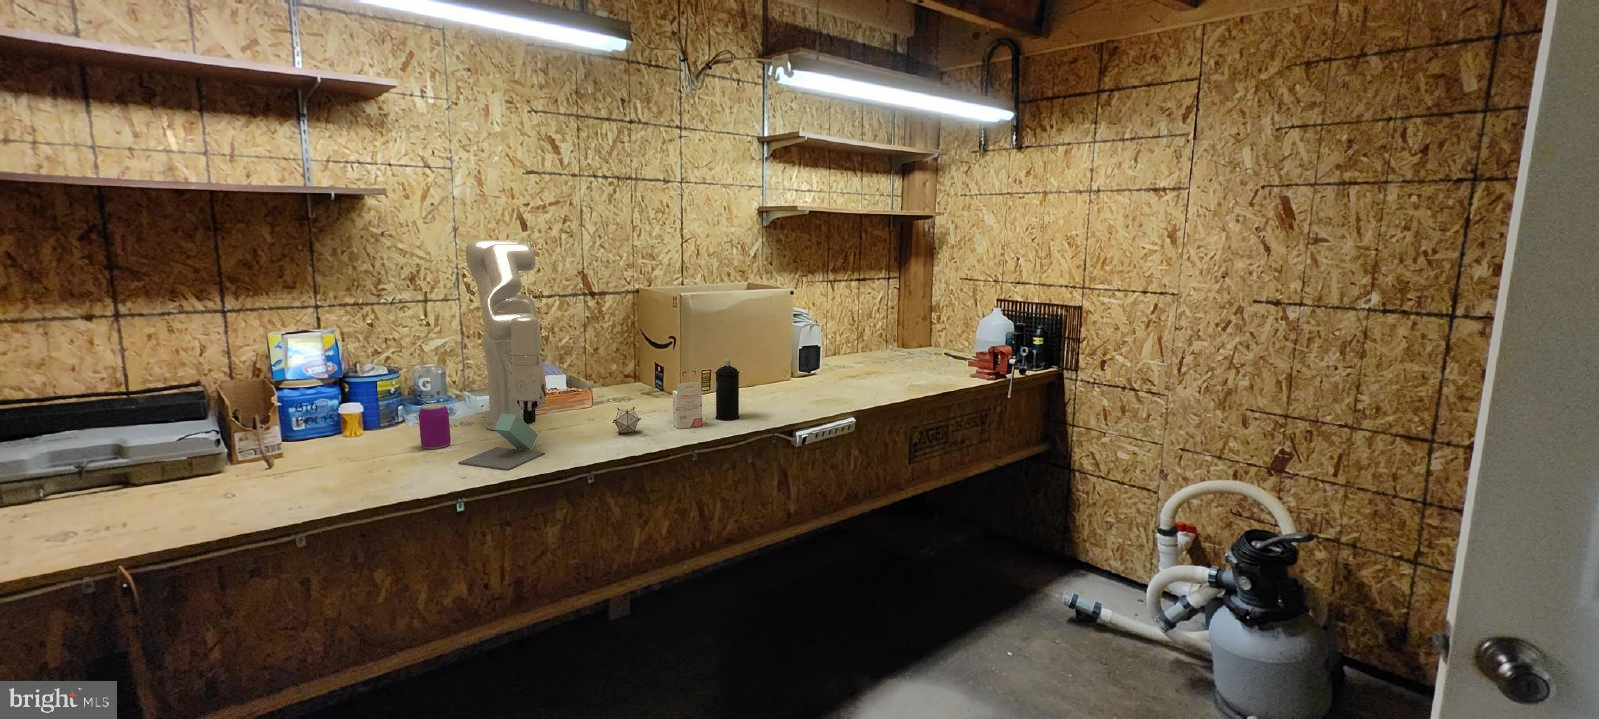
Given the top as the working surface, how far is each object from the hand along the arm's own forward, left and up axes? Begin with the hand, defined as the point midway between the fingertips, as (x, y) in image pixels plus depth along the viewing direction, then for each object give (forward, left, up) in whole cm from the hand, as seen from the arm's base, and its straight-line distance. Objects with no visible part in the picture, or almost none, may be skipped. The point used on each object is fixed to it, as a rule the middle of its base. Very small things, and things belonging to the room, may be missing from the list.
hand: (529, 422), depth 205 cm
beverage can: (-26, -8, -8) cm, 28 cm away
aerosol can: (+40, +51, -8) cm, 65 cm away
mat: (0, -12, -7) cm, 14 cm away
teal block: (0, -1, -5) cm, 5 cm away
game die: (+18, +23, -8) cm, 30 cm away
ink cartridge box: (+32, +37, -8) cm, 49 cm away
